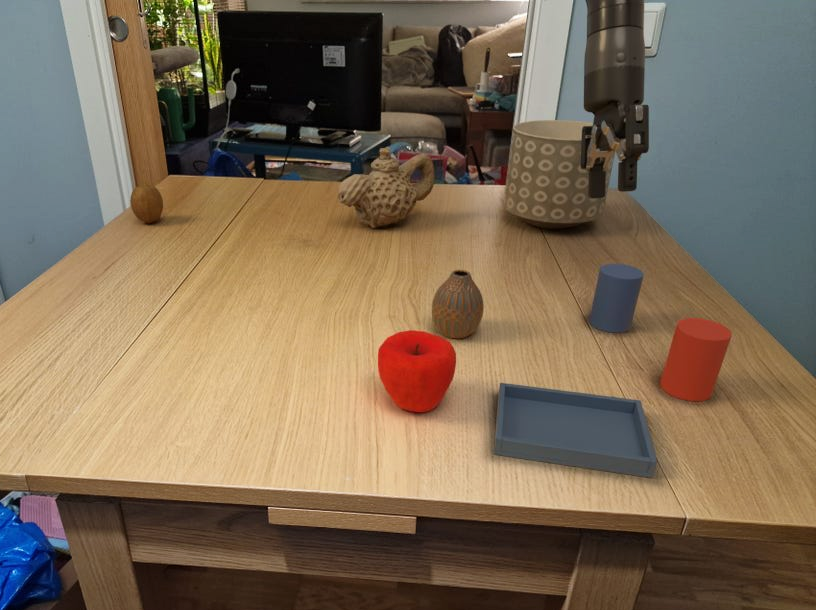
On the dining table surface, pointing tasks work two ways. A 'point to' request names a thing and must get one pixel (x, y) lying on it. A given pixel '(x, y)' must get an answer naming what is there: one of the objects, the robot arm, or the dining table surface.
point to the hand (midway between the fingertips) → (611, 194)
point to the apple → (416, 369)
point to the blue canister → (615, 297)
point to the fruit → (146, 203)
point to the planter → (551, 175)
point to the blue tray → (574, 430)
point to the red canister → (695, 359)
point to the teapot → (387, 189)
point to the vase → (457, 306)
